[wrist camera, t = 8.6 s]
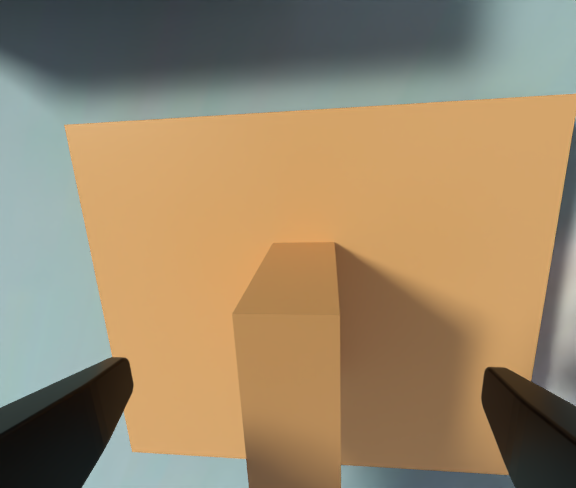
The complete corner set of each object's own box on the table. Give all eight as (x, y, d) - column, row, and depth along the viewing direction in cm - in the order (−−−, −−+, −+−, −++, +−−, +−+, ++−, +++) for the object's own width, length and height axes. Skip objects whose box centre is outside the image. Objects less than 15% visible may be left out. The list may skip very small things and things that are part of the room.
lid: (535, 103, 11) (857, 33, 4) (490, 432, 14) (630, 676, 8) (103, 128, 13) (-142, 107, 6) (155, 415, 16) (34, 603, 10)
